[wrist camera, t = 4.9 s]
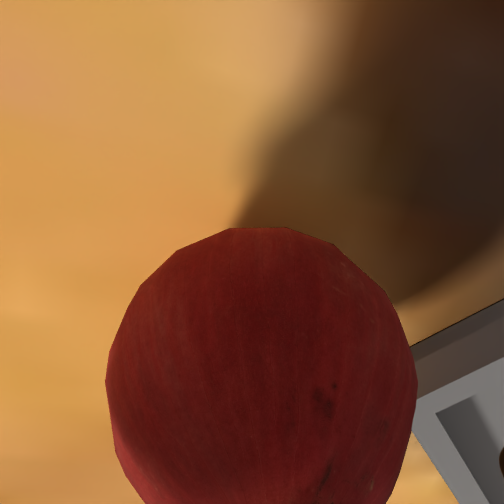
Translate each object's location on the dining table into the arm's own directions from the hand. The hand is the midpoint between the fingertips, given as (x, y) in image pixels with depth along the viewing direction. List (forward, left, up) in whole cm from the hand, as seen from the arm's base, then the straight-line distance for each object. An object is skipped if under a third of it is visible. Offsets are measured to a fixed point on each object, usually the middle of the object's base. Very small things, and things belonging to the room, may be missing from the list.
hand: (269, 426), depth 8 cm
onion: (0, 0, -5) cm, 5 cm away
